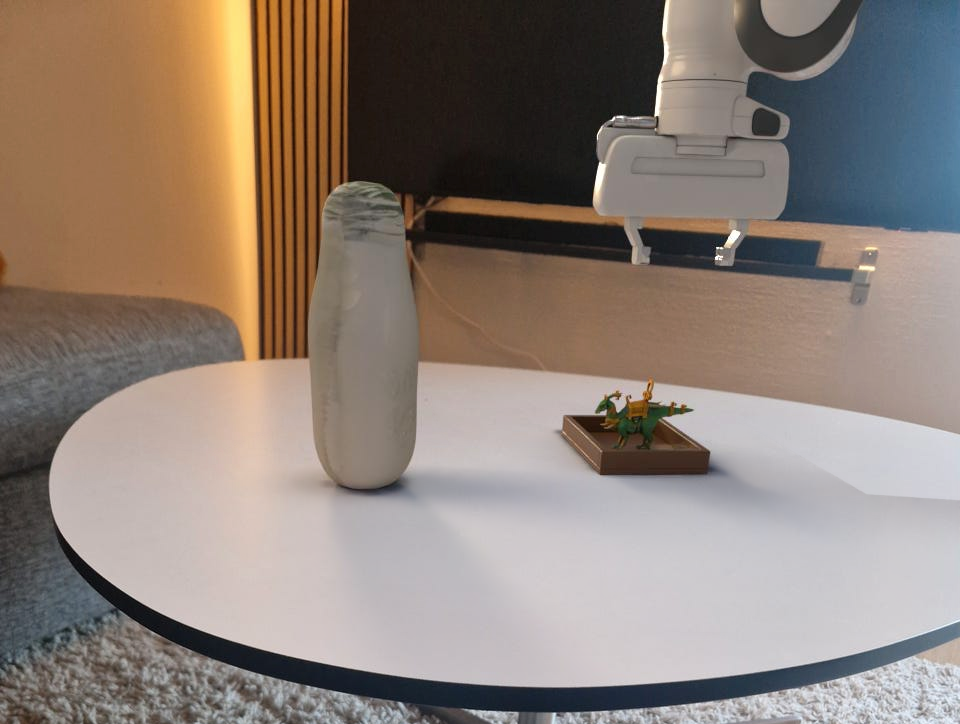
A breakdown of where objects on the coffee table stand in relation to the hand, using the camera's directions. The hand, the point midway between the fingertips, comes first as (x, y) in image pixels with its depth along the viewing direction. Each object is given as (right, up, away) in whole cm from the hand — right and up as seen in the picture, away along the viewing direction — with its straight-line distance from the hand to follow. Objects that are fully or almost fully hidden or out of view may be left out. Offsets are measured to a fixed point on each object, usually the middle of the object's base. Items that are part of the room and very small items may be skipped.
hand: (682, 265), depth 100 cm
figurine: (-3, -18, +11) cm, 21 cm away
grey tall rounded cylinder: (-33, -25, -5) cm, 42 cm away
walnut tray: (-4, -18, +11) cm, 22 cm away
